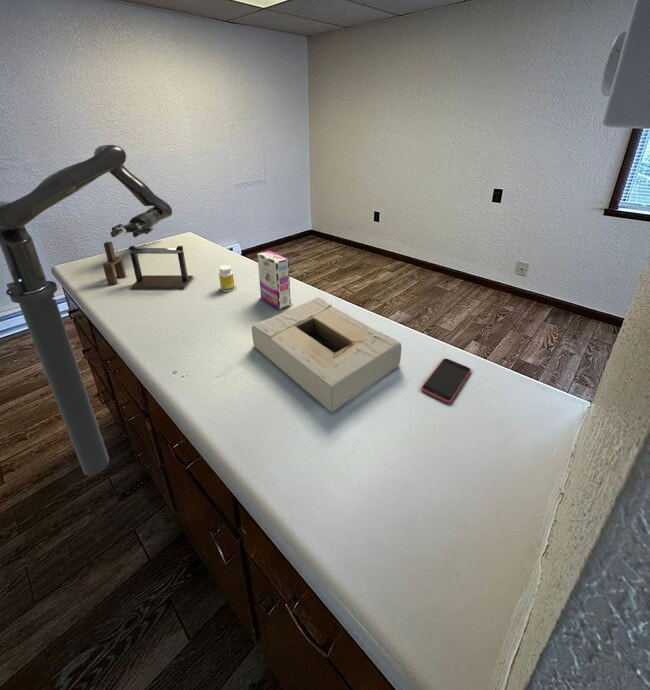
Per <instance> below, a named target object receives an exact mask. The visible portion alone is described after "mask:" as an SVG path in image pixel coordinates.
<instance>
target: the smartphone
mask: <svg viewBox="0 0 650 690" xmlns="http://www.w3.org/2000/svg"><path fill="white" fill-rule="evenodd" d="M471 370H472V369H471V368H470V367H468V366H466V365H464V364H461V363H458V362H456V361H454V360H452V359H449V358H443V359H442V360H441V362H439V364H438V365H437V366H436V368H435V369H434V370H433V371H432V373H431V374H430V376H429V377H428V378H427V379H426V380H425V382H424V383H423V384H422V385H421V391H423V392H424V393H426V394H427V395H429V396H432V397H434V398H436V399H438V400H440V401H443V402H445V403H446V404H447V403H448V404H450V403H452V401H453V400H454V399H455V396H456V395H457V394H458V393H459V391H460V389H461V387H462V385H463V384H464V382H465V381H466V379H467V378H468V376H469V375H470V373H471Z"/></svg>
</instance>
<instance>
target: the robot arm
mask: <svg viewBox="0 0 650 690" xmlns="http://www.w3.org/2000/svg"><path fill="white" fill-rule="evenodd" d="M126 161H127V153H126V151H125V150H124V148H122V147H120V146H118V145H115V144H103V145H100V146H97V147H96V148H95V149H94V152H93V156H91V157H90V158H87V159H86V160H83V161H81V162H77V163H73V164H72V165H68V166H66V167H63V168H61V169H59V170H57V171H55V172H53V173H52V174H50V175H48V176H47V177H45V178H44V179H43V180H41V182H40V183H39V184H38V185H37V186H36V187H35V188H34V189H33V190H32V191H31V192H29V193H28V194H25V195H24V196H21V197H19V198H18V199H15V200H13V201H11V202H10V201H5V200H0V250H1V253H2V255H3V258H4V261H5V263H6V266H7V272H8V273H9V276H10V279H11V282H8V283H5V284H6V288H7V290H6V291H5V294H6V295H7V296H9V295H10V296H14V295H15V294H17V293H18V294H19V296H22V295H28V294H34V293H37V292H40V291H42V290H44V289H46V288H47V287H48V286H49V285H48V283H47V281H48V279H47V277H46V275H45V272H44V269H43V266H42V263H41V260H40V257H39V254H38V251H37V248H36V246H35V245H36V244H35V242H34V240H33V237H32V235H31V234H30V233H29V232H28V230H27V229H26V225H28V224H29V223H30V222H32V221H33V220H34V219H35V218H36V217H38V216H39V215H41V214H42V213H44V212H45V211H47V210H48V209H50V208H52V207H54V206H55V205H57V204H59V203H60V202H63V201H64V200H66V199H68V198H70V197H71V196H73V195H75V194H77V192H79V191H81V190H82V189H84V188H86V187H87V186H88V185H90V184H92V183H93V182H94V181H95V180H97V179H99V178H100V177H101V176H104V175H105V174H108V173H109V174H111V176H112V177H114V178H115V179H116V180H117V181H119V182H120V184H122V185H123V186H124V187H125V188H126V189H127V190H128V191H129V192H130V193H131V194H132V195H133V196H134V197H135V198H136V199H137V201H138V202H139V203H140V204H141V205H142V206H144V207H150V208H148V209H147V210H145V211H143V212H140V213H139V214H136V215H135V216H134V217H132V218H131V219H130V220H129V222H128V223H126V224H122V223H119V224H117V225H115V226H113V227H111V231H110V236H111V238H116V237H117V236H119V235H127V234H132V237H133V238H137V237H139V236H140V235H141V236H142V235H148V234H150V233H151V232H152V231H153V229H154V226H156V225H157V224H159V223H160V222H161V221H162V220H165V219H167V218H170V217H171V216H172V215H173V208H172V207H171V205H170V204H169V203H168V202H166V201H165V200H164V199H162V198H160V197H159V196H158V195H156V194H155V193H154V192H153V191H152V190H151V188H150V187H149V186H148V185H147V183H145V182H143V181H142V180H141V179H140V178H138V177H137V176H136V175H134V174H133V173H132V172H131V171H129V169H127V168H126V167H125V166H124V165H125V163H126ZM10 293H11V294H10ZM10 296H9V297H10Z"/></svg>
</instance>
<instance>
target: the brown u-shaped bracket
mask: <svg viewBox="0 0 650 690" xmlns="http://www.w3.org/2000/svg"><path fill="white" fill-rule="evenodd" d="M103 247H104V251H105V255H106V261H105V262H104V263H102V267H103V268H102V269H103V272H104V275H105V278H106V283H107V285H109V286H113V285H117V284H118V279H119V278H120V279H121V278H122V279H123V278H124V279H125V278H126V277H127V274H126V269H125V266H124V265H125V264H124V262H123V258H122V256H116V252H115V248H114V244H113V241H105V242H104V243H103Z"/></svg>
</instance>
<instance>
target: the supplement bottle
mask: <svg viewBox="0 0 650 690" xmlns="http://www.w3.org/2000/svg"><path fill="white" fill-rule="evenodd" d="M218 269H219V273H218V277H219V278H218V279H219V285H220V286H219V287H220V290H221V292H225V293H226V292H227V293H228V292H232V291H233V290H235V280H234V279H235V278H234V272H233V271H232V266H231V265H230V264H229V265H227V264H224V265H221V266H219V267H218Z"/></svg>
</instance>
